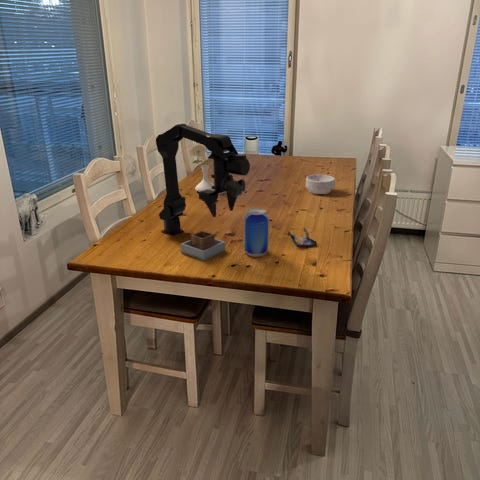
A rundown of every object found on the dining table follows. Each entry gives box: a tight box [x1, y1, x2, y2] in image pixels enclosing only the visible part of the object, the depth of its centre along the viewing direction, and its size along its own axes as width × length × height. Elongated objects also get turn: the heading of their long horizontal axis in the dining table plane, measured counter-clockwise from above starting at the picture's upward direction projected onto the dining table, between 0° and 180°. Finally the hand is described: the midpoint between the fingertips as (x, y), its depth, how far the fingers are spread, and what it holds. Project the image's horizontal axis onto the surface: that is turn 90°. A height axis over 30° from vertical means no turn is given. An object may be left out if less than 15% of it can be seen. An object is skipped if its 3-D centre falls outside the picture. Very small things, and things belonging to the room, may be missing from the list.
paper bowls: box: [305, 174, 336, 195], centre depth 229 cm, size 15×15×8 cm
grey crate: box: [180, 238, 226, 262], centre depth 159 cm, size 11×11×4 cm
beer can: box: [244, 207, 269, 258], centre depth 155 cm, size 8×8×16 cm
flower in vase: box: [190, 144, 215, 193], centre depth 229 cm, size 13×11×25 cm
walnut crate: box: [190, 230, 216, 251], centre depth 158 cm, size 6×6×6 cm
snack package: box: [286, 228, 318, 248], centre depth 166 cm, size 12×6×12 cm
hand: (222, 213), depth 160 cm, fingers open, 9 cm apart
